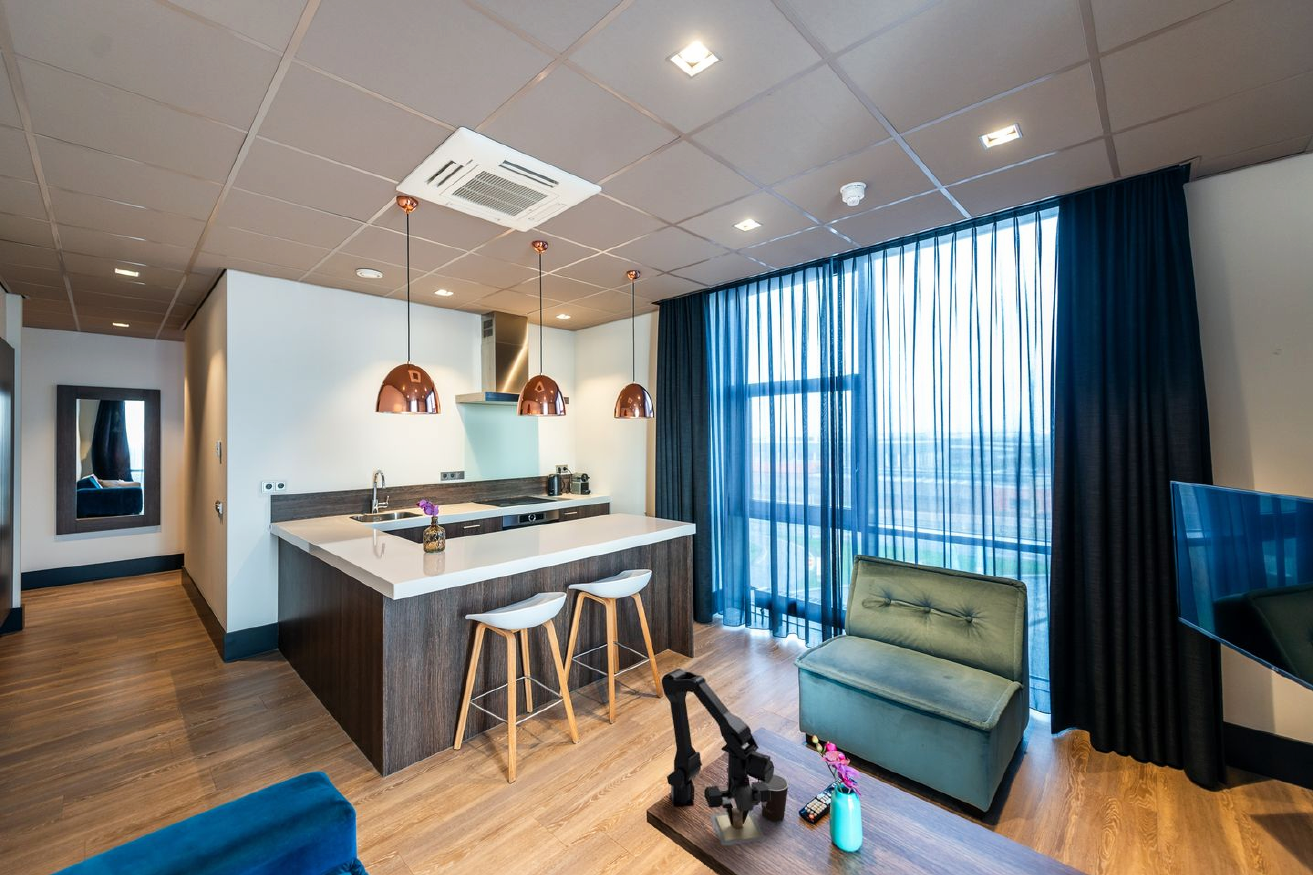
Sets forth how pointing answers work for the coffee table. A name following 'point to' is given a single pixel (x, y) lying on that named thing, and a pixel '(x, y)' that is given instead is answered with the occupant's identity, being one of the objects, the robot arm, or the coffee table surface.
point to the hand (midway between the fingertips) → (737, 823)
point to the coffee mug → (775, 799)
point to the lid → (737, 826)
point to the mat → (724, 842)
